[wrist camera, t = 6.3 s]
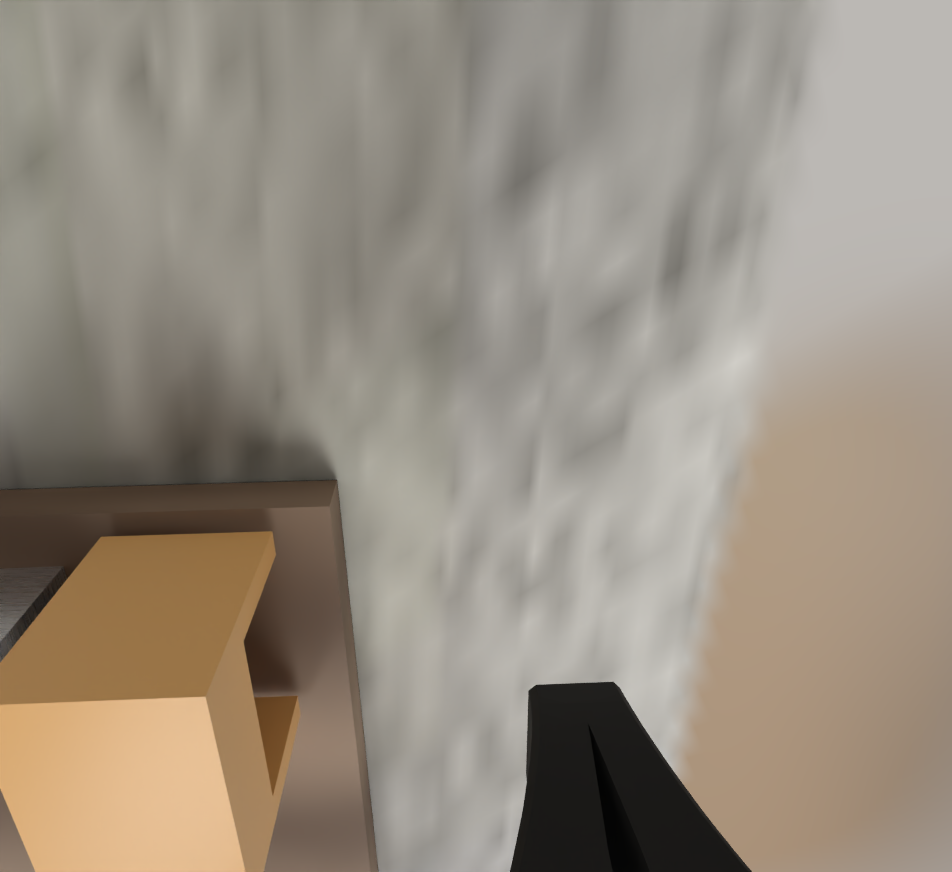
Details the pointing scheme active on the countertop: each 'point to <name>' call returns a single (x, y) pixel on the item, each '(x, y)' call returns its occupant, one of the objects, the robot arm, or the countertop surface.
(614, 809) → the robot arm
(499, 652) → the countertop surface
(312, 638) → the tong board
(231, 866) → the collar
